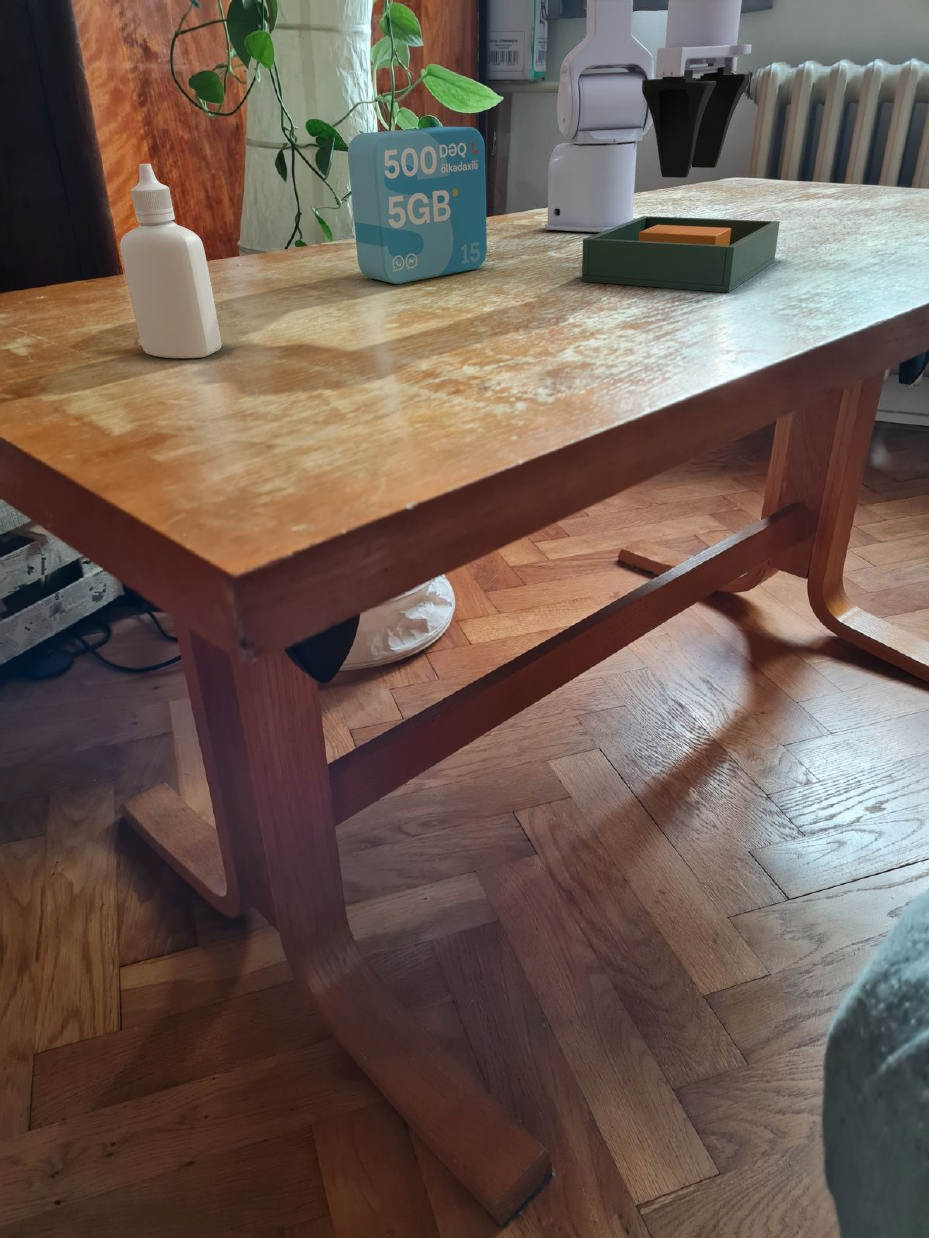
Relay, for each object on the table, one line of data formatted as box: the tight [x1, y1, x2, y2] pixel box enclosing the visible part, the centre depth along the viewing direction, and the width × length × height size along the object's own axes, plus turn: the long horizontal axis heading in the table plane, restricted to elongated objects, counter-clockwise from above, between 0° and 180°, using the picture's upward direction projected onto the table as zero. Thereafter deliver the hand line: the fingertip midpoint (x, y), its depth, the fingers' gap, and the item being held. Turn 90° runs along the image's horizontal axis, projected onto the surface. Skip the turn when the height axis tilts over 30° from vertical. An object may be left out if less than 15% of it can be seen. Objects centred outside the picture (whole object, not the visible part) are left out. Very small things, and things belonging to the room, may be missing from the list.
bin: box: [581, 215, 780, 294], centre depth 80 cm, size 13×14×4 cm
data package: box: [347, 126, 488, 285], centre depth 81 cm, size 12×4×12 cm, turn 128°
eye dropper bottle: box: [119, 163, 222, 359], centre depth 60 cm, size 4×6×12 cm
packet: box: [639, 225, 731, 246], centre depth 80 cm, size 7×4×3 cm, turn 59°
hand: (689, 172), depth 77 cm, fingers open, 7 cm apart
